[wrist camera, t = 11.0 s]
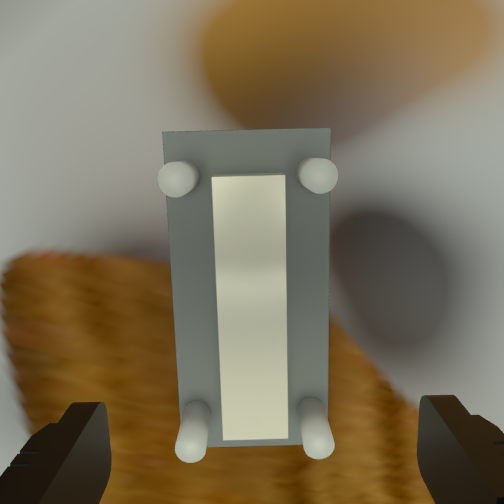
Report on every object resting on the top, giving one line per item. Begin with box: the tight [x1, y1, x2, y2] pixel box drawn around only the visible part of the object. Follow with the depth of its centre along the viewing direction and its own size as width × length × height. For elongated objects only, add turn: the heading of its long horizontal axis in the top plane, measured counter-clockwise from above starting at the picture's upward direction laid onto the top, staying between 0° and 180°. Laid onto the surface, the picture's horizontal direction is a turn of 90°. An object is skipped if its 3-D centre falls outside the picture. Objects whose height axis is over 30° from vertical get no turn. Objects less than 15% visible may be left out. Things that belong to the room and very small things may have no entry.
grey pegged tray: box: [157, 128, 338, 463], centre depth 22 cm, size 16×8×4 cm, turn 1°
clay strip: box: [212, 173, 288, 440], centre depth 21 cm, size 12×3×2 cm, turn 2°
